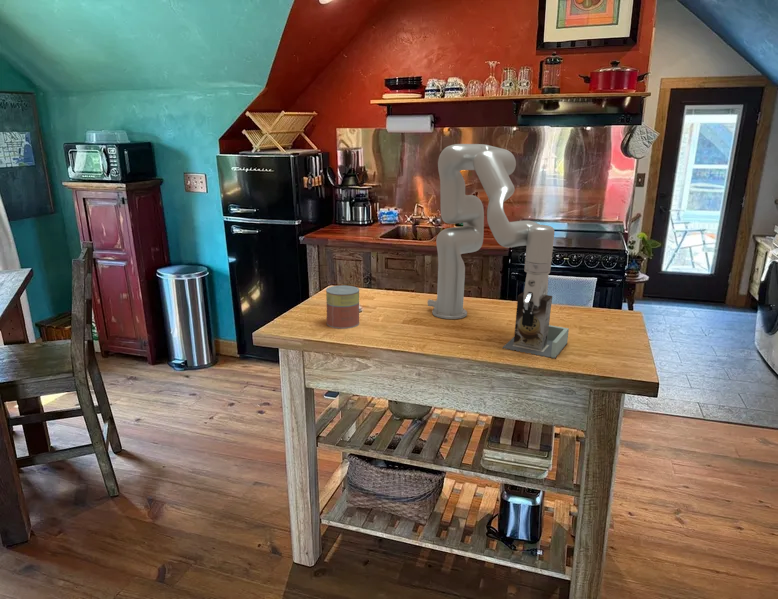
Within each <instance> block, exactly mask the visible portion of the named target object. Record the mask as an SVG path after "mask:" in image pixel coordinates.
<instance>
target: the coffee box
mask: <svg viewBox="0 0 778 599" xmlns="http://www.w3.org/2000/svg"><path fill="white" fill-rule="evenodd" d="M523 298H524V291H523V292H521V293H520V294H518V295H517V302H516V314H515V324H514V335H513V337H514V345H517V346H522V347H526V348H531V349H536V350H540V351H542V350H543V349H544V348H545V347H546V346H547V339H548V330H549V325H550V321H551V320H550V319H551V310H552V309H551V308H552V303H553V302H552V301H553V295H549V294H547V295H546V296H545V297H543V298H542V299H541V303H540V306H539V307H537V306H535V308H534V311H533V314H534V319H533V326H532V327H530V326H525V325H522V317H523V307H524V303H523ZM532 298H533V297H532ZM530 303H532V304H533V302H530ZM529 307H530V308H532V307H531V306H529Z"/></svg>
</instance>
